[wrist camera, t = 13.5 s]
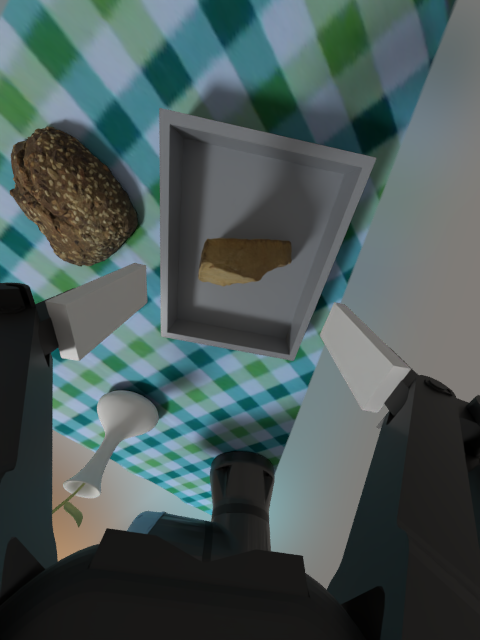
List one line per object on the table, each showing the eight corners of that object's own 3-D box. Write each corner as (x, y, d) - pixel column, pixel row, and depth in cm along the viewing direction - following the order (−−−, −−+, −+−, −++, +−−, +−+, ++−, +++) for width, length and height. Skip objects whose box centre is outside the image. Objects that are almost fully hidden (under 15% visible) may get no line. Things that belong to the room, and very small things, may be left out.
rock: (318, 221, 20) (222, 178, 18) (319, 296, 17) (199, 255, 14) (269, 278, 30) (202, 255, 27) (263, 332, 26) (186, 312, 24)
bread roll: (154, 231, 25) (133, 236, 20) (83, 274, 28) (52, 287, 23) (71, 100, 19) (18, 69, 15) (-5, 172, 22) (-67, 164, 18)
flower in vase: (166, 393, 38) (47, 646, 16) (158, 428, 43) (61, 653, 21) (94, 374, 37) (-142, 623, 15) (95, 413, 42) (-76, 636, 20)
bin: (288, 341, 31) (293, 360, 27) (172, 319, 30) (161, 336, 26) (352, 167, 20) (376, 157, 16) (178, 128, 20) (159, 107, 16)
